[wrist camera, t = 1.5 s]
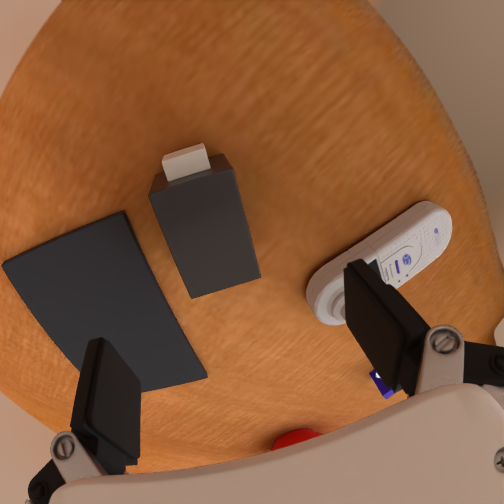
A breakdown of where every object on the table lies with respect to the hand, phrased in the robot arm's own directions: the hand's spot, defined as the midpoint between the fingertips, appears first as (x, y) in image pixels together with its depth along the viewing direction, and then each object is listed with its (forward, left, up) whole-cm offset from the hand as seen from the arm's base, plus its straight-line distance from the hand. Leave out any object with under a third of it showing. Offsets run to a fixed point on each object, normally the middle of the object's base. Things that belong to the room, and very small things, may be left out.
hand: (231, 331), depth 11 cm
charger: (0, 0, -11) cm, 11 cm away
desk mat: (+7, -11, -11) cm, 17 cm away
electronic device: (+8, +13, -11) cm, 18 cm away
